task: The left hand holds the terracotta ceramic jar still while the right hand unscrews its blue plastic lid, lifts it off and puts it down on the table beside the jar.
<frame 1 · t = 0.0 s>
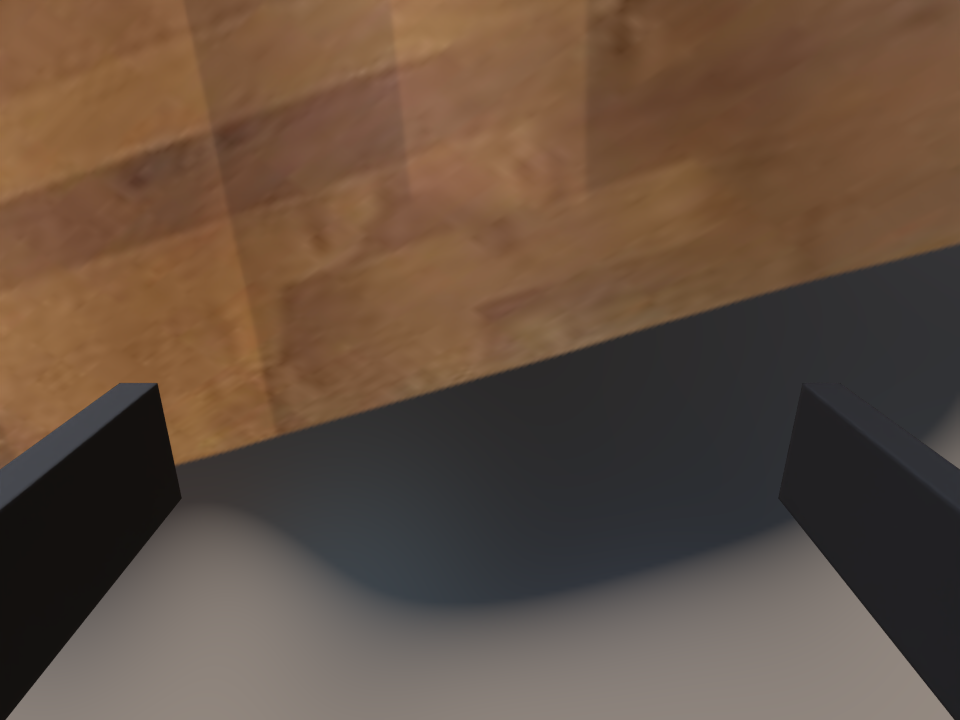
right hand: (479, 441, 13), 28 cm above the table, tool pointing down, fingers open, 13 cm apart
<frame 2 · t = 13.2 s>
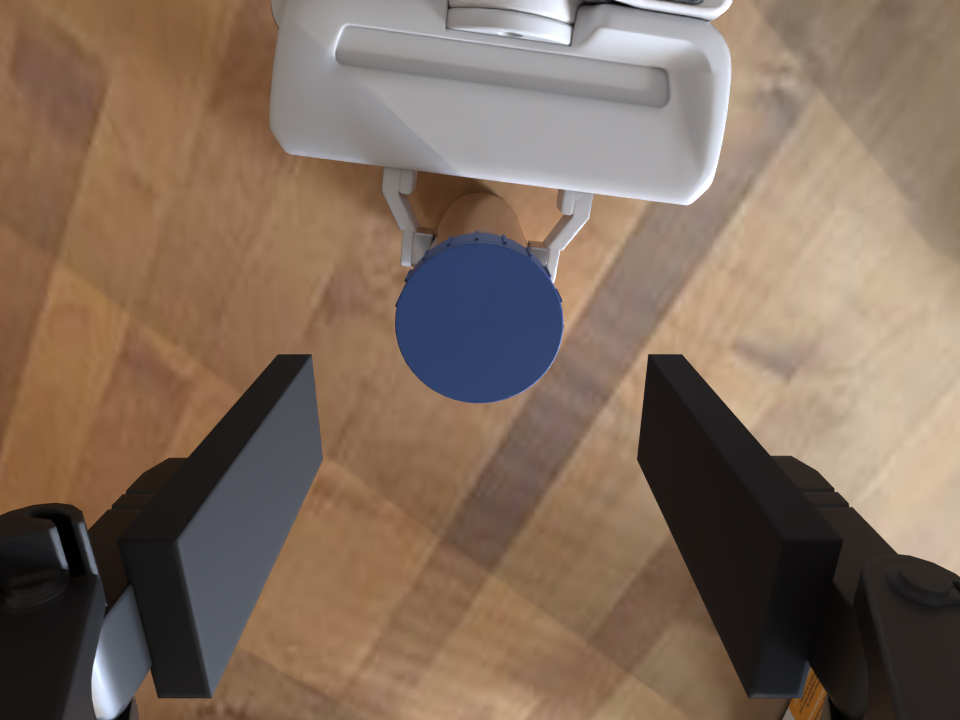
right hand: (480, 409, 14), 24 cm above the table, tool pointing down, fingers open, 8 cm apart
left hand: (478, 272, 31), fingers closed on jar, 5 cm apart
lid: (479, 324, 20), point 18 cm above the table, screwed on, not yet turned
jar: (479, 233, 36), on the table, touching left hand
hard drive box: (825, 710, 51), on the table
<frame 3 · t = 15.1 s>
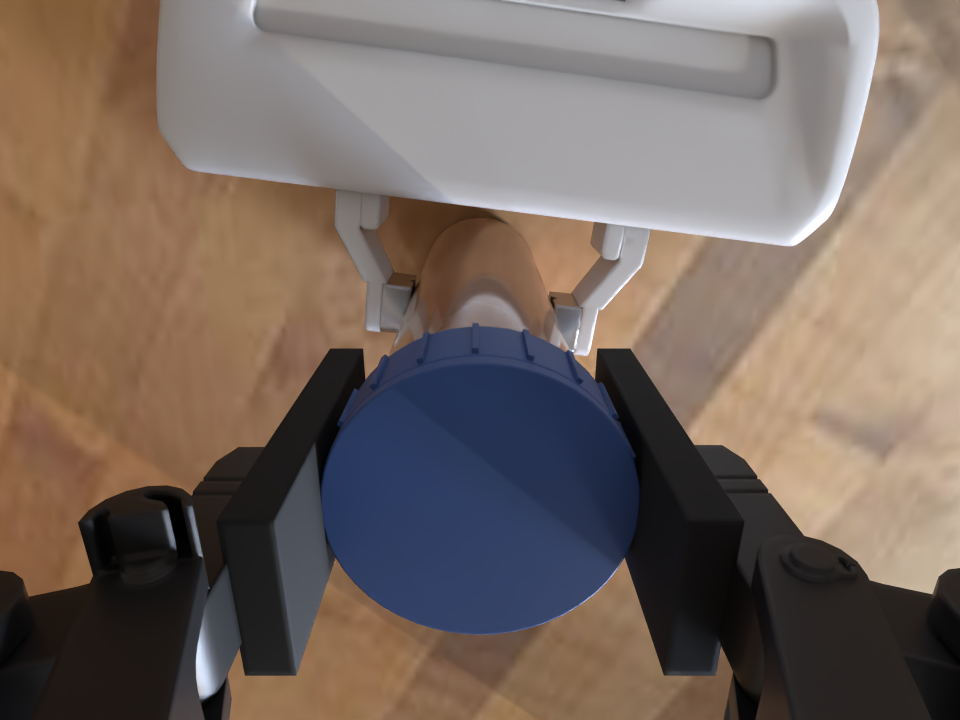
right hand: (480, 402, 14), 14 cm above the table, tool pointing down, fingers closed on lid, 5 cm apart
left hand: (478, 338, 21), fingers closed on jar, 5 cm apart
lid: (480, 500, 11), point 18 cm above the table, screwed on, not yet turned, touching right hand
jar: (480, 272, 27), on the table, touching left hand
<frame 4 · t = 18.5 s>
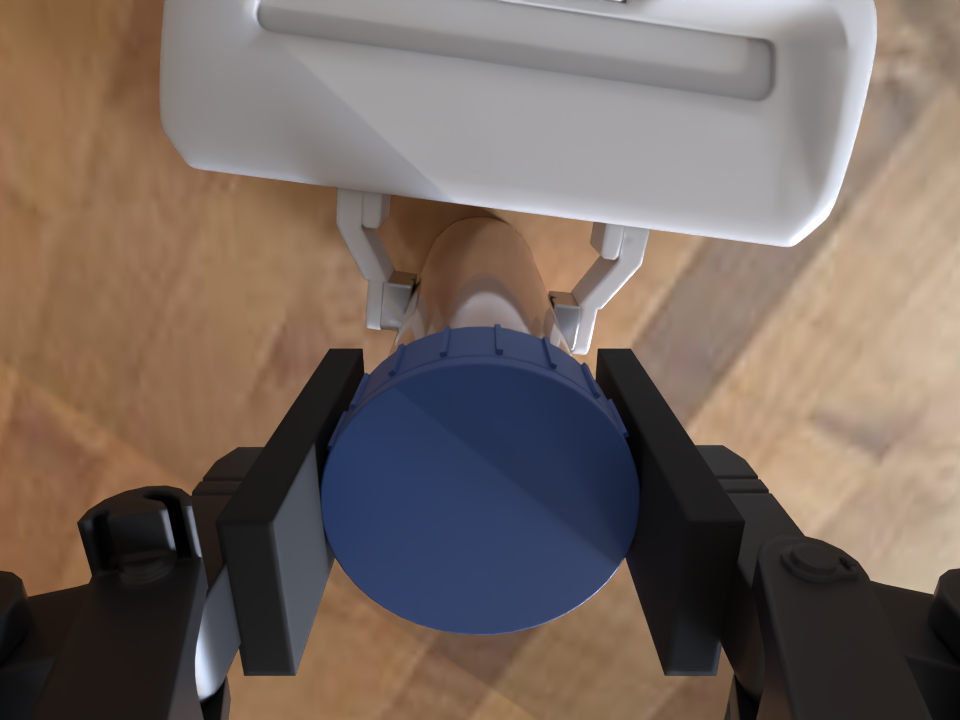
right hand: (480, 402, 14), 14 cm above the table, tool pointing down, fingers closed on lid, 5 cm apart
left hand: (478, 337, 22), fingers closed on jar, 5 cm apart
lid: (480, 500, 11), point 18 cm above the table, turned 106° so far, risen 0.2 cm, still on its thread, touching right hand
jar: (480, 271, 27), on the table, touching left hand
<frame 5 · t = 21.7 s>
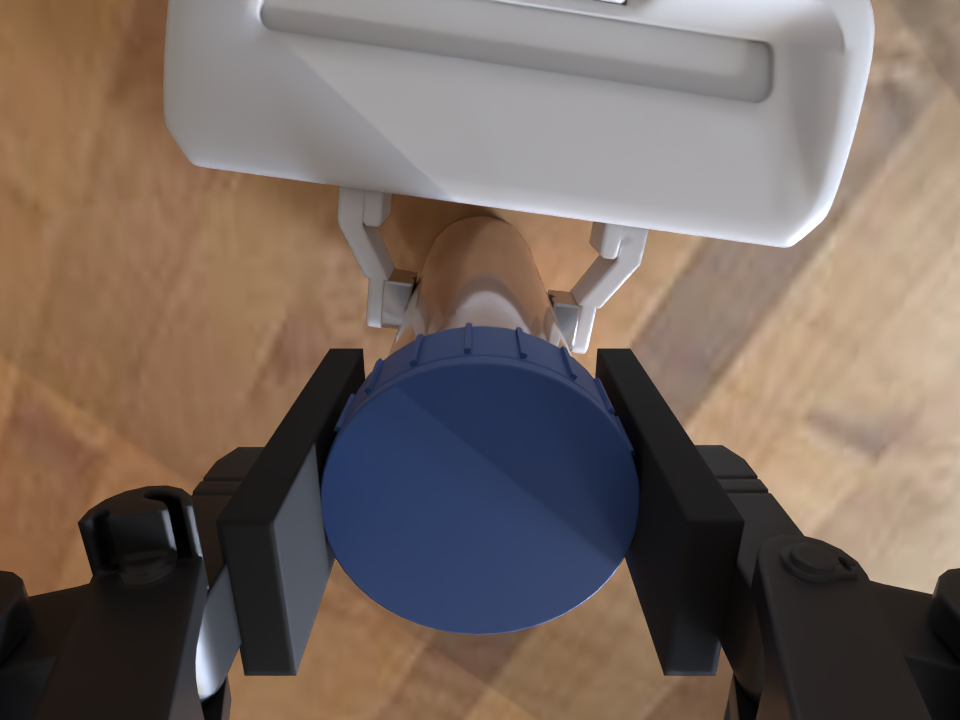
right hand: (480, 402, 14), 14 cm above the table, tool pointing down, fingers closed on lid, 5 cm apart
left hand: (477, 335, 22), fingers closed on jar, 5 cm apart
lid: (479, 500, 11), point 18 cm above the table, turned 212° so far, risen 0.3 cm, still on its thread, touching right hand
jar: (480, 270, 27), on the table, touching left hand
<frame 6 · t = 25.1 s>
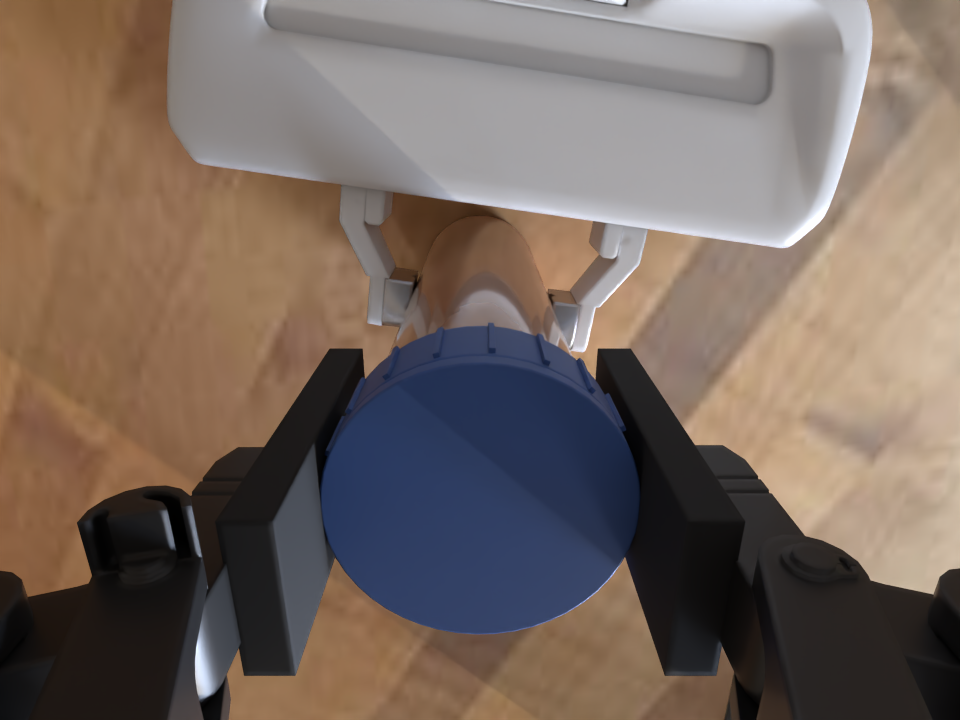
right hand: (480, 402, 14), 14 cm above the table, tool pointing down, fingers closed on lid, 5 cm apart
left hand: (477, 333, 22), fingers closed on jar, 5 cm apart
lid: (480, 500, 11), point 18 cm above the table, turned 317° so far, risen 0.5 cm, still on its thread, touching right hand
jar: (480, 269, 27), on the table, touching left hand
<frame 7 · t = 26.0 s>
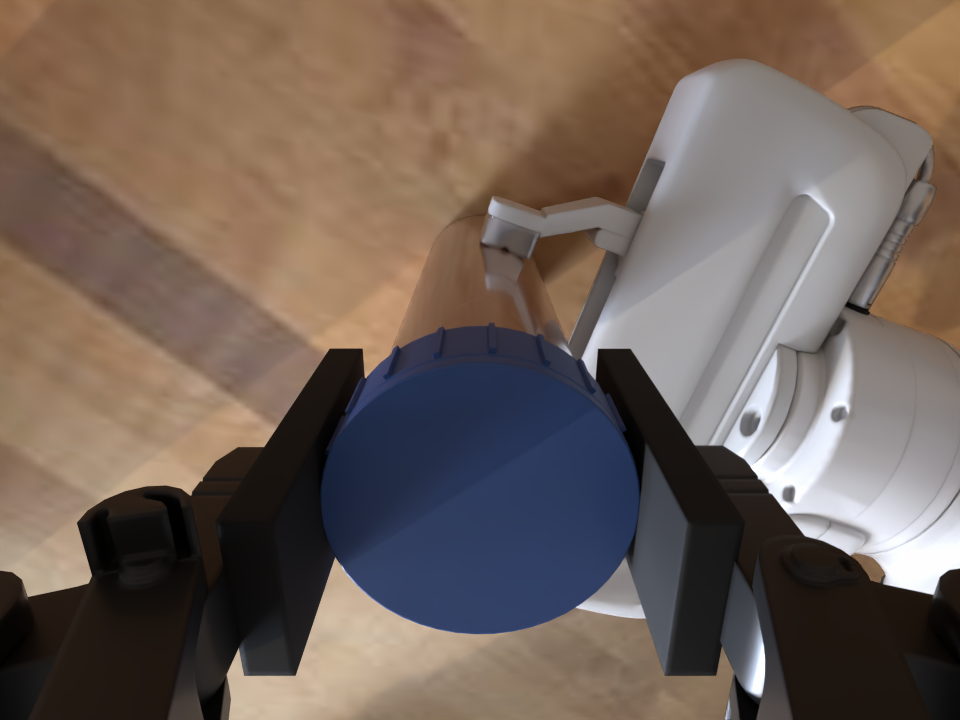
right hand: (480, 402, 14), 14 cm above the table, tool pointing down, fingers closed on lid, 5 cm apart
lid: (480, 500, 11), point 18 cm above the table, off its thread, touching right hand
jar: (480, 269, 28), on the table, touching left hand
when the right hand's fingers open (0 cm above the table, at t = 31.7 s): lid drops 3 cm, point 2 cm above the table.
when the left hand's fingers open (6 cm above the table, at t = 32.3 s): jar stays where it is, on the table.
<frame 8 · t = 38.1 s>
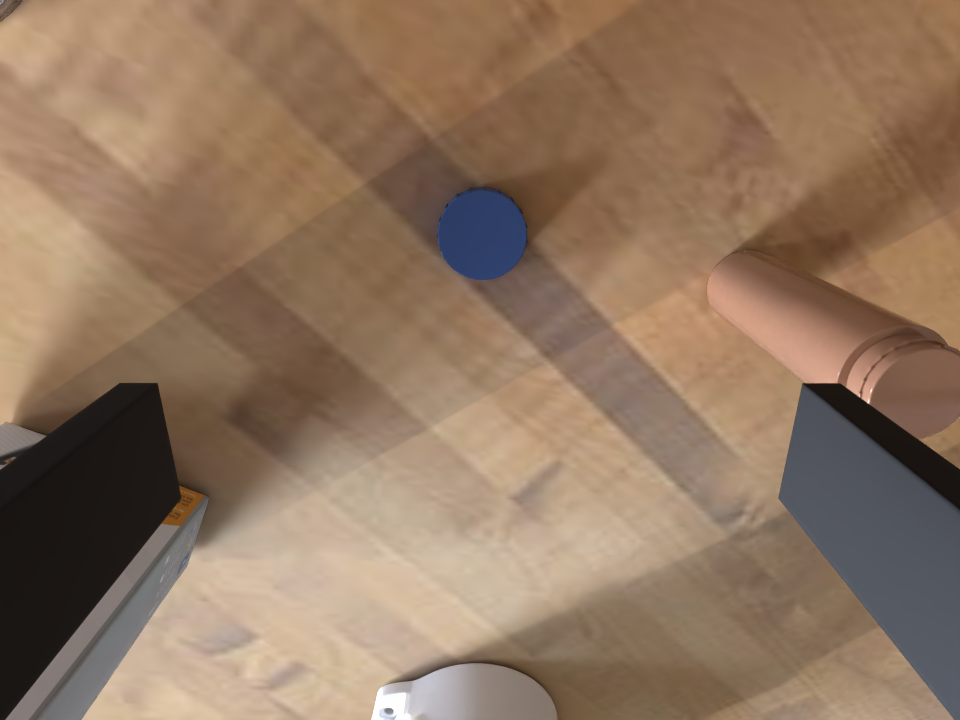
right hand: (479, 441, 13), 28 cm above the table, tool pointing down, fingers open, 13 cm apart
lid: (482, 235, 38), point 2 cm above the table, off its thread
jar: (743, 285, 40), on the table
hard drive box: (101, 494, 46), on the table
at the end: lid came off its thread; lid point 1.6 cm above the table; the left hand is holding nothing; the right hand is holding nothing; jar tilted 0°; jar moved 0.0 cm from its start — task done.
